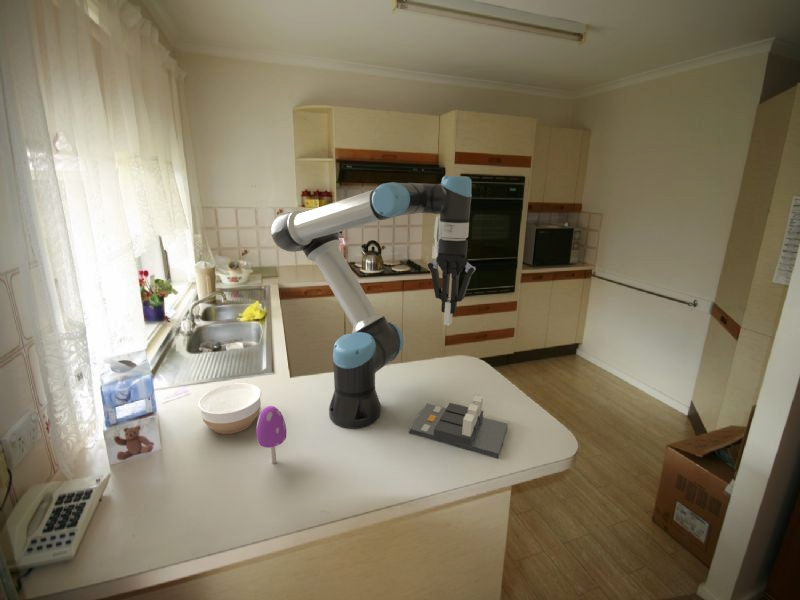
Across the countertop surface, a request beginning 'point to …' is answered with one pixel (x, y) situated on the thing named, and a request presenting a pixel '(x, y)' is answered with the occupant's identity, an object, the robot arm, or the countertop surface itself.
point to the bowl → (230, 407)
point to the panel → (483, 443)
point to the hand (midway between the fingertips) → (447, 323)
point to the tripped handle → (473, 412)
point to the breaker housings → (459, 423)
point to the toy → (271, 429)
